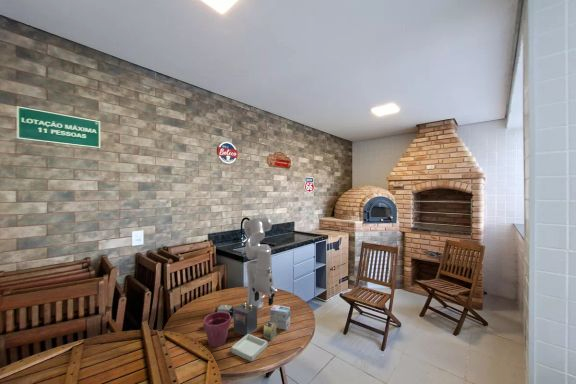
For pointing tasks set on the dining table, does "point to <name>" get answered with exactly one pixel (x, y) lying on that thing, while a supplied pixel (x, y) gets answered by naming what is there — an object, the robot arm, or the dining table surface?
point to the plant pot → (217, 328)
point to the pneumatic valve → (226, 309)
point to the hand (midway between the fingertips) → (263, 302)
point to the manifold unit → (245, 319)
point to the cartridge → (270, 330)
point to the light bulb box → (280, 316)
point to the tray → (249, 347)
